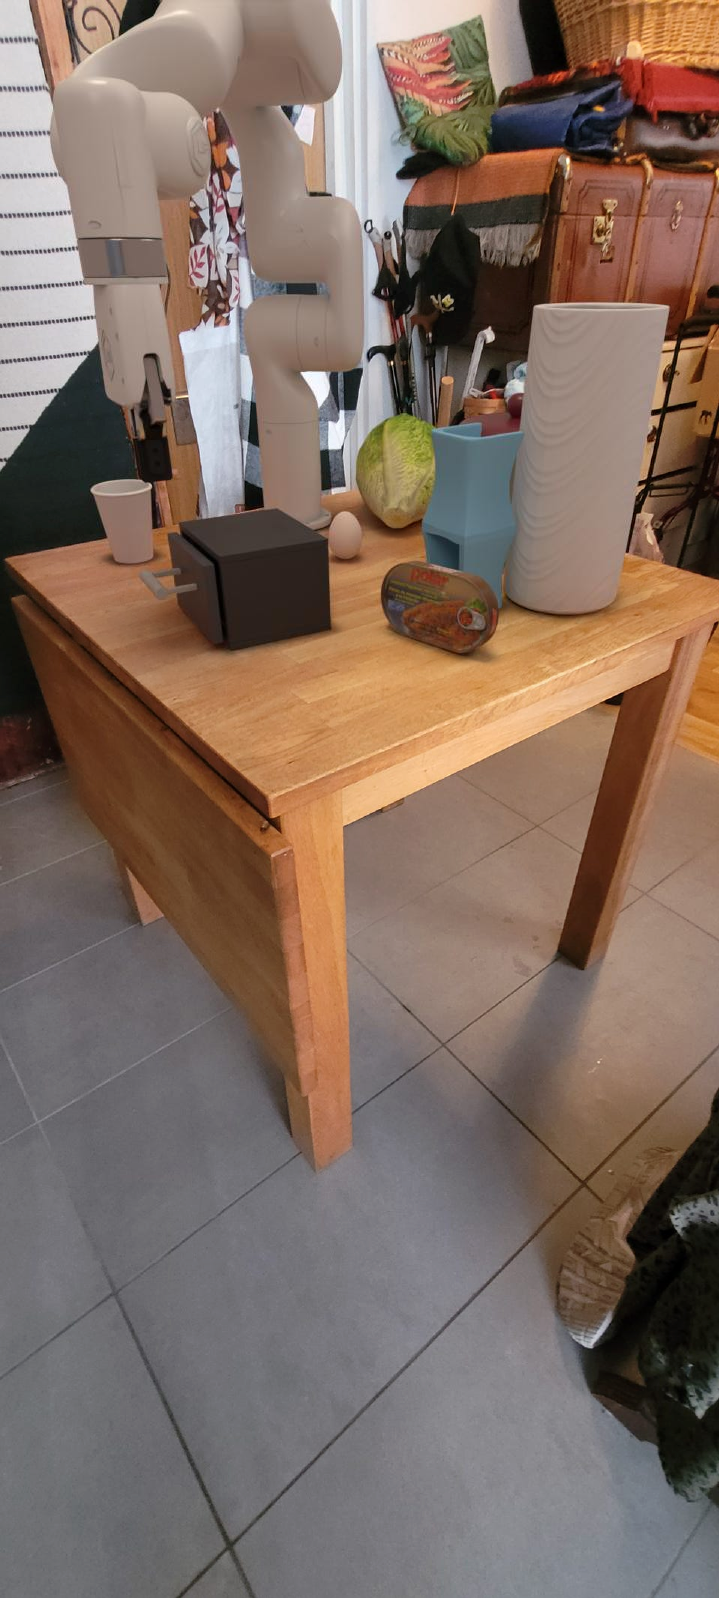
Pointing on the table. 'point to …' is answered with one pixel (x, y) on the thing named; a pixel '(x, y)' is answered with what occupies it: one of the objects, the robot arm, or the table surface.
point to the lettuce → (397, 470)
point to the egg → (345, 535)
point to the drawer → (192, 585)
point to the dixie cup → (126, 518)
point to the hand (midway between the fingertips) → (156, 479)
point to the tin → (439, 605)
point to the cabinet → (266, 575)
